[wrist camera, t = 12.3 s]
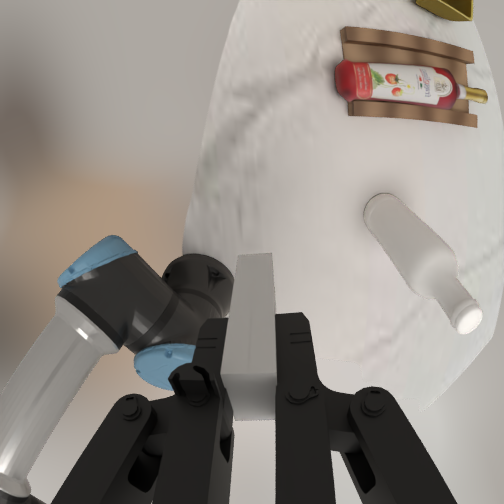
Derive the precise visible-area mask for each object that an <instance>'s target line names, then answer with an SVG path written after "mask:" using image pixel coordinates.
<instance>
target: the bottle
mask: <svg viewBox="0 0 504 504" xmlns="http://www.w3.org/2000/svg"><path fill="white" fill-rule="evenodd" d="M364 221H365V223H366V225H367V227H368V229H369V231H370V232H371V233H372V234H373V235H374V237H375V238H376V239H377V241H378V242H379V244H380V245H381V246H382V248H383V249H384V251H385V252H386V254H387V255H388V257H389V258H390V260H391V261H392V262H393V264H394V265H395V267H396V268H397V270H398V271H399V273H400V274H401V276H402V278H403V279H404V281H405V282H406V284H407V285H408V287H409V288H410V289H411V290H412V291H413V292H414V293H415V294H417V295H418V296H420V297H422V298H424V299H428V300H433V299H436V300H437V301H438V303H439V304H440V306H441V307H442V309H443V310H444V312H445V313H446V315H447V316H448V318H449V320H450V323H451V325H452V327H453V328H454V329H456V331H457V332H458V333H459V334H468V333H470V332H472V331H473V330H474V329H475V328H476V327H477V326H478V325H479V323H480V322H481V319H482V316H483V311H482V309H481V308H480V306H479V303H478V302H477V301H476V299H473V298H472V296H471V295H470V294H469V293H468V291H467V290H466V289H465V288H464V286H463V285H462V284H461V283H460V282H459V280H458V279H457V278H458V274H459V266H458V262H457V259H456V256H455V253H454V251H453V250H452V249H451V247H450V246H449V245H448V244H447V243H446V242H445V241H444V240H443V239H442V238H441V237H440V236H439V235H437V234H436V233H435V232H434V231H433V230H432V229H431V228H430V227H429V226H428V225H427V224H426V223H425V222H424V221H422V220H421V219H420V218H419V217H418V216H417V215H416V214H415V213H413V212H412V211H411V210H410V209H409V208H408V207H407V206H405V205H404V204H403V203H402V202H401V201H400V200H399V199H398V198H396V197H395V196H393V195H390V194H380V195H377V196H375V197H373V198H372V199H371V200H370V201H369V202H368V204H367V205H366V207H365V211H364Z"/></svg>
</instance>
